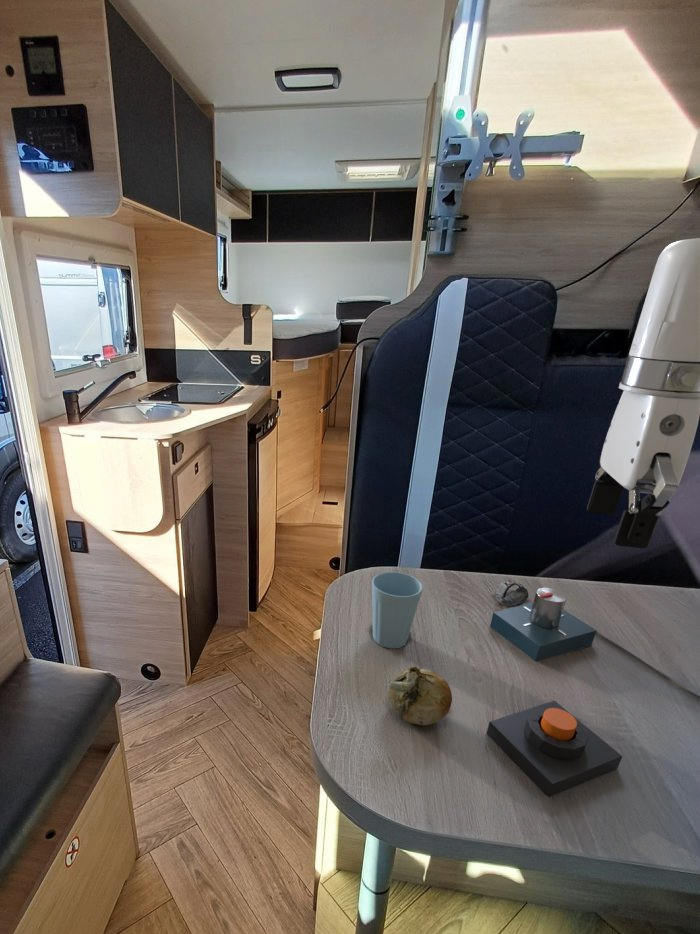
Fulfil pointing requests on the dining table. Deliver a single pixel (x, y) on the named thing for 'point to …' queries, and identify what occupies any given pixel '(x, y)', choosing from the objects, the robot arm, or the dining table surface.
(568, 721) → the button
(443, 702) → the onion
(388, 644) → the cup
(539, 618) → the temp dial
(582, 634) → the dial panel
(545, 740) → the button base
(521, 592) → the wristwatch
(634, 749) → the dining table surface
